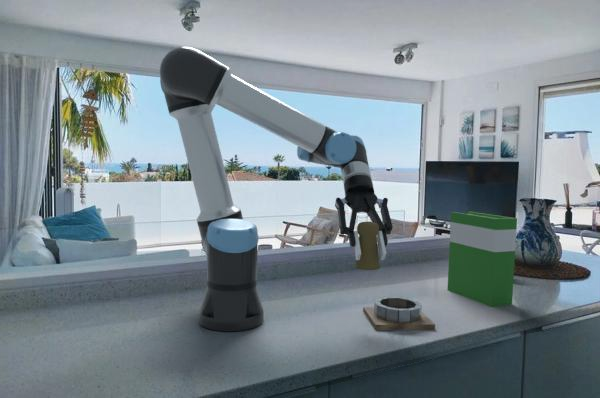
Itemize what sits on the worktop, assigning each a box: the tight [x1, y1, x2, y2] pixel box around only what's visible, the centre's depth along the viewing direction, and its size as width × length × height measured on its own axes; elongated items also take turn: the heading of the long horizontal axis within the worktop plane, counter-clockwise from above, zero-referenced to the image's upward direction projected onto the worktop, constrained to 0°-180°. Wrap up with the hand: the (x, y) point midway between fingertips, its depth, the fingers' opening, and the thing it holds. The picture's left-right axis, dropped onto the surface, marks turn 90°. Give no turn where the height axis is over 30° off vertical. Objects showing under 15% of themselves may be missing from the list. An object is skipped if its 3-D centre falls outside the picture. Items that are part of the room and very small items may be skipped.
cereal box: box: [447, 211, 518, 308], centre depth 134 cm, size 18×7×24 cm, turn 23°
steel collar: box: [373, 296, 423, 323], centre depth 112 cm, size 11×11×3 cm
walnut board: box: [362, 306, 436, 331], centre depth 112 cm, size 14×13×1 cm
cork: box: [354, 221, 381, 271], centre depth 111 cm, size 6×6×11 cm
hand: (371, 256), depth 107 cm, fingers closed on cork, 5 cm apart
